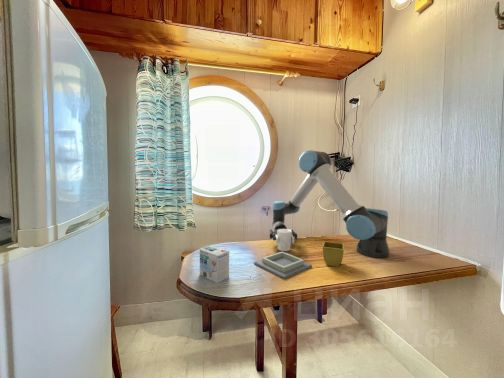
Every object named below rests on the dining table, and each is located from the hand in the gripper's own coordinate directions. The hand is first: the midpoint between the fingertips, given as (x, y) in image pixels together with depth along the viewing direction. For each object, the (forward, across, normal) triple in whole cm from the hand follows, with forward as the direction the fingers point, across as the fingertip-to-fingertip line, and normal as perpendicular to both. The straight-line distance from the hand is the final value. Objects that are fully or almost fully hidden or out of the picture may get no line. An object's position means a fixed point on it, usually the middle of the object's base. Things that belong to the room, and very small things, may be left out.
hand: (285, 240), depth 115 cm
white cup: (-5, 0, -6) cm, 8 cm away
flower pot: (+13, -20, -7) cm, 24 cm away
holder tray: (+15, +3, -7) cm, 16 cm away
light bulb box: (+26, +32, -7) cm, 41 cm away
